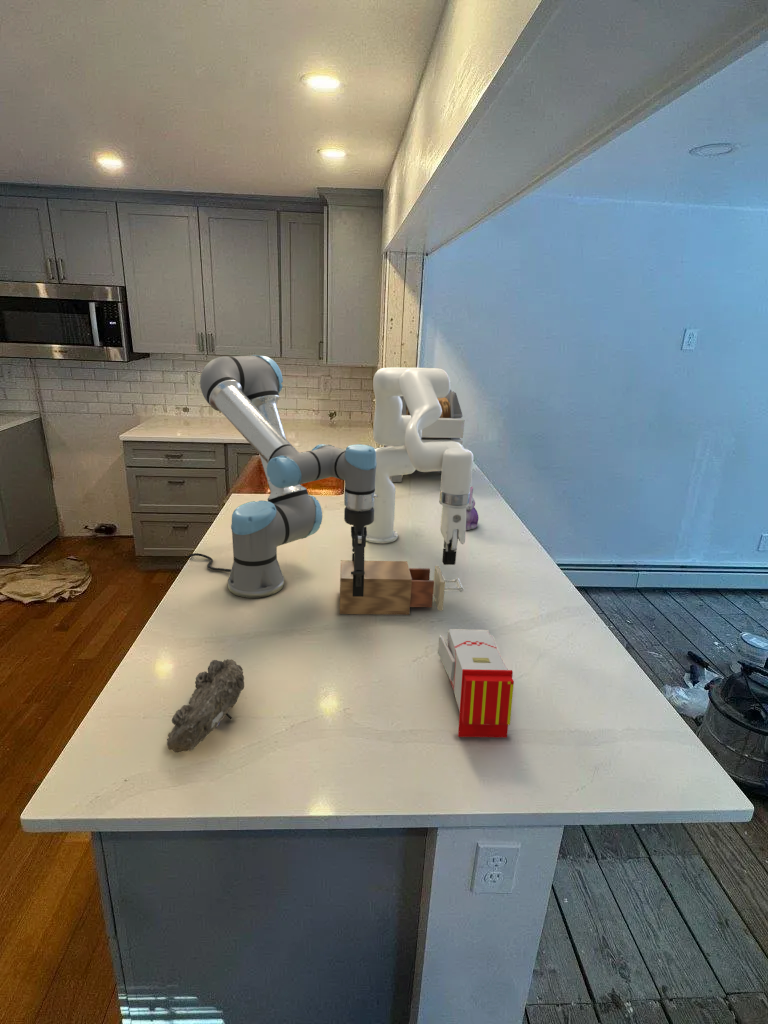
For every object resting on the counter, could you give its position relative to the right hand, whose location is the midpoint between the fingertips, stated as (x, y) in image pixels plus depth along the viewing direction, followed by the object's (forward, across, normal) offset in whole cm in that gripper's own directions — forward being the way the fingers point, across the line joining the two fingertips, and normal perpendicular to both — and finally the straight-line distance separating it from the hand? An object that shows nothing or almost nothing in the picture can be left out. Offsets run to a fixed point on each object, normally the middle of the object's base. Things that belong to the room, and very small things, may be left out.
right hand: (448, 563), depth 149 cm
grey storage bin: (+12, +129, -10) cm, 130 cm away
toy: (+12, -37, +1) cm, 39 cm away
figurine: (+12, +58, -18) cm, 62 cm away
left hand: (+7, 0, +24) cm, 25 cm away
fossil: (+12, -44, +52) cm, 70 cm away
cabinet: (+12, 0, +19) cm, 23 cm away
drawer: (+11, 0, +7) cm, 13 cm away
